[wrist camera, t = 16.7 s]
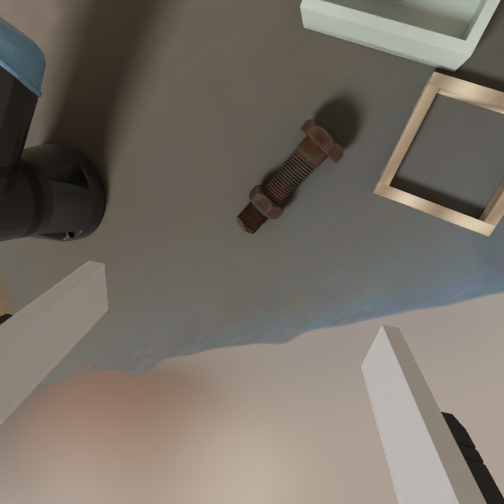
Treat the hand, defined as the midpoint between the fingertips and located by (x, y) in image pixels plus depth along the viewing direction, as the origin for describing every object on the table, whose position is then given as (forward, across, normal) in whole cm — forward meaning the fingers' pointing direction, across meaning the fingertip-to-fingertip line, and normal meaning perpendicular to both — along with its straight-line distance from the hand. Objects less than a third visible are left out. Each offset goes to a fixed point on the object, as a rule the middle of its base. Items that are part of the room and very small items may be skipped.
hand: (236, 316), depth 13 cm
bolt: (+27, +2, +1) cm, 27 cm away
